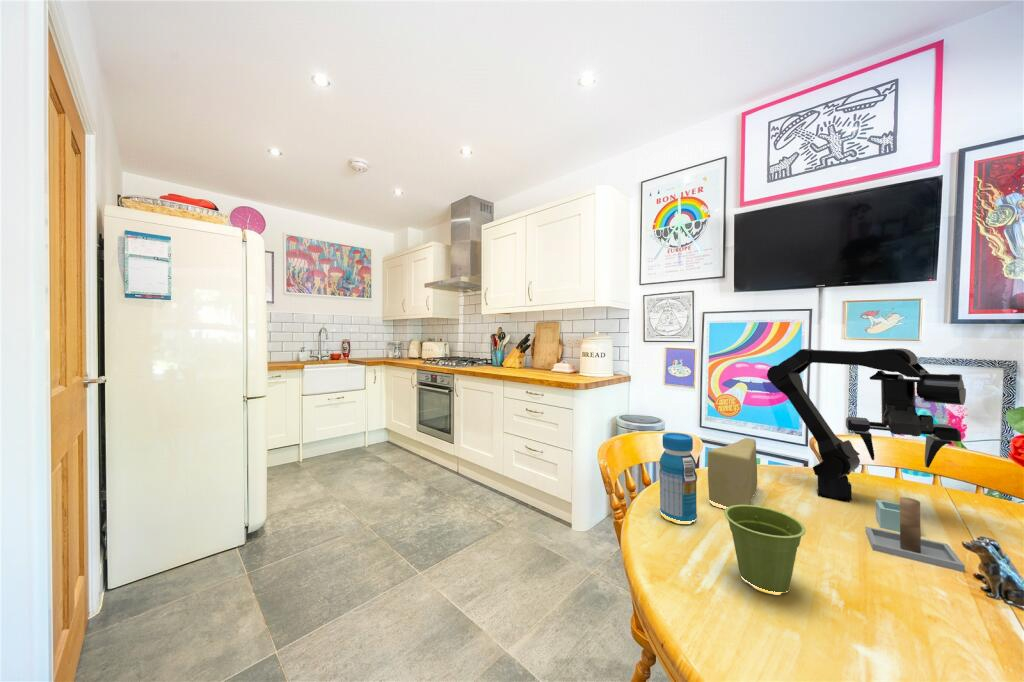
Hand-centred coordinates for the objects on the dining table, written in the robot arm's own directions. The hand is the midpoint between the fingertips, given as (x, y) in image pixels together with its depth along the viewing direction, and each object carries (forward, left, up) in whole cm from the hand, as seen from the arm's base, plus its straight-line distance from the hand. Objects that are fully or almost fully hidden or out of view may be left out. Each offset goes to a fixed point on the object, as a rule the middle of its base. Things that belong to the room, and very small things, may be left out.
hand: (899, 463), depth 89 cm
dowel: (-2, -21, -12) cm, 24 cm away
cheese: (-32, -11, -13) cm, 36 cm away
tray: (-2, -21, -13) cm, 25 cm away
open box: (-2, -9, -13) cm, 16 cm away
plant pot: (-25, -50, -13) cm, 57 cm away
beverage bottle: (-43, -33, -13) cm, 56 cm away
